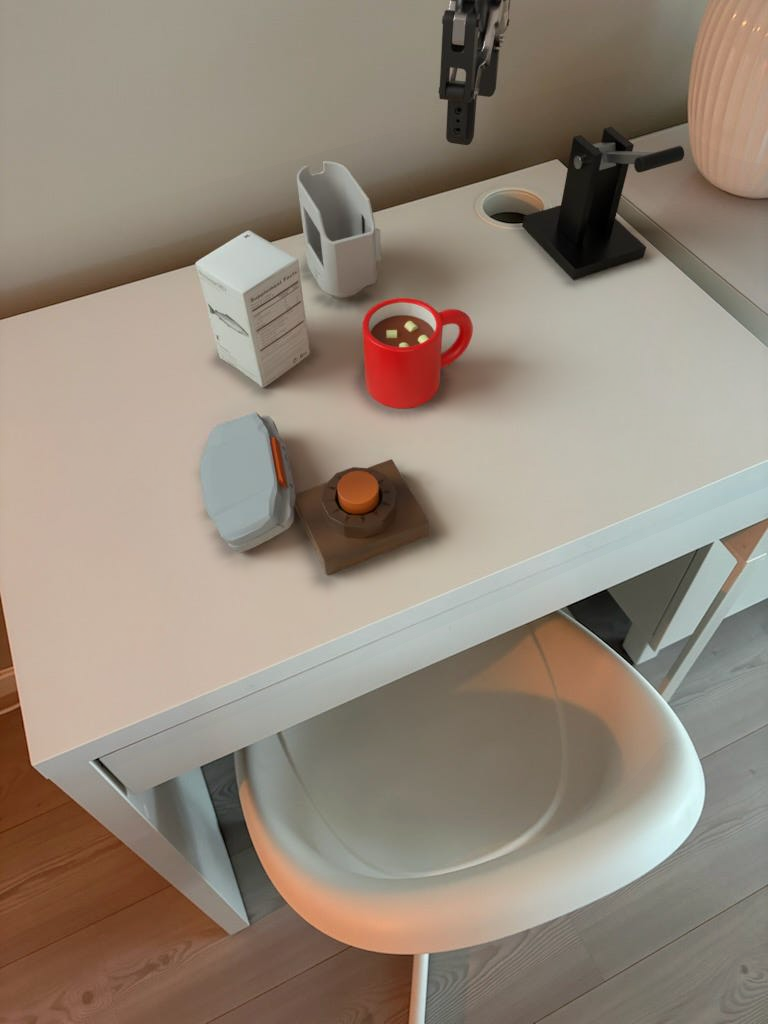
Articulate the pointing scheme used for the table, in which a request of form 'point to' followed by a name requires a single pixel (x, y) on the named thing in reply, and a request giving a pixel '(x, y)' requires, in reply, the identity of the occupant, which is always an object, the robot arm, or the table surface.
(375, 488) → the button
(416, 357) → the mug
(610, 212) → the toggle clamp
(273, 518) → the grey case
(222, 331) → the white packaging box
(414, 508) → the button block
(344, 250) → the cable organizer
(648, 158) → the lever
